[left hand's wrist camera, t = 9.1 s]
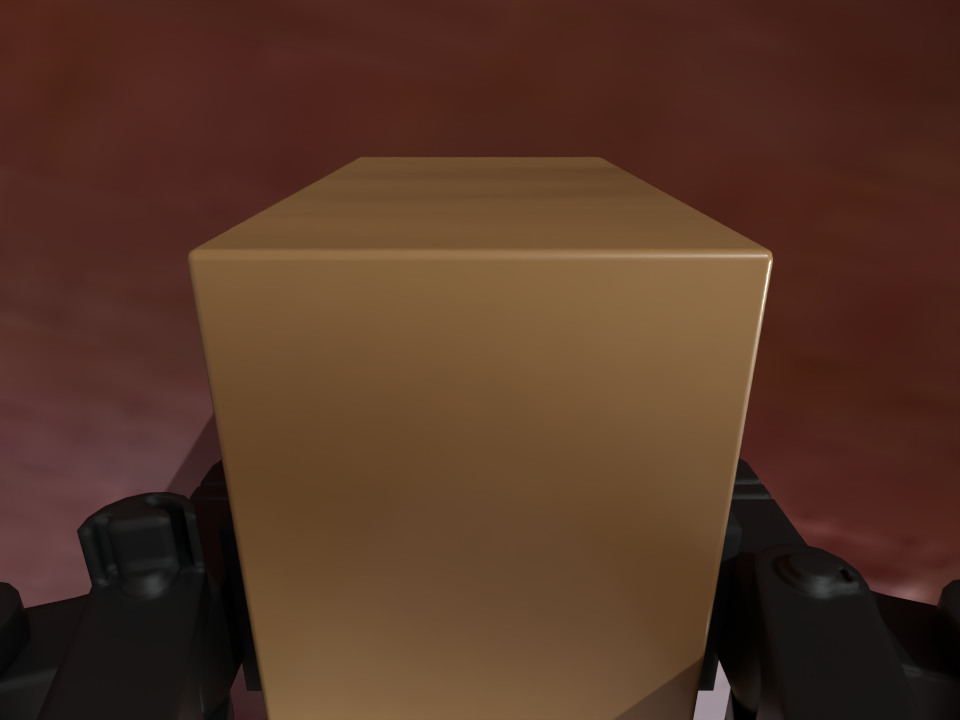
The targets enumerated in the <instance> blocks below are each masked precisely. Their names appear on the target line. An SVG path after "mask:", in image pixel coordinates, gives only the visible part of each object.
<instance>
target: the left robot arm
mask: <svg viewBox="0 0 960 720" xmlns="http://www.w3.org/2000/svg"><path fill="white" fill-rule="evenodd" d="M200 484H201V485H200V487H197V489H196V490H195V491H194V493H193V494H192V495H191V497H190V500H189V499H188V498H186V497H185V496H183V495H179V494H175V493H170V492H154V493H144V494H140V495H135V496H131V497H126V498H124V499H121V500H119V501H117V502H114V503H112V504H109V505H107V506H105V507H103V508H102V509H100V510H99V511H97V512H96V513H94V514H92V515H91V516H89V517H88V518H87V519H86V520H85V521H84V523H83V524H82V525H81V526H80V527H79V529H78V530H77V533H78V536H79V540H80V543H81V547H82V551H83V554H84V558H85V562H86V565H87V569H88V572H89V576H90V580H91V583H92V587H91V590H90V592H89V594H86V595H82V596H79V597H75V598H71V599H66V600H62V601H57V602H52V603H48V604H43V605H38V606H34V607H29V608H24V606H23V603H22V600H21V597H20V594H19V591H18V590H16V589H15V588H14V587H13V586H11V585H10V584H9V583H3V582H0V720H234V711H233V704H232V699H231V694H230V689H231V686H232V684H233V682H234V679H235V677H236V674H237V672H238V670H239V667H240V665H241V663H242V665H243V670H244V676H245V681H246V687H247V691H262V687H261V681H260V676H259V670H258V664H257V658H256V653H255V647H254V641H253V635H252V629H251V624H250V618H249V612H248V606H247V601H246V595H245V589H244V583H243V578H242V572H241V566H240V560H239V554H238V549H237V543H236V537H235V531H234V526H233V520H232V514H231V508H230V503H229V497H228V491H227V485H226V479H225V474H224V468H223V462H222V460H221V461H219V462H218V463H216V464H215V465H213V466H212V468H211V469H210V471H209V472H208V473H207V475H206V476H205V477H204V479H203V480H202V482H201V483H200ZM718 661H720V663H721V665H722V668H723V670H724V672H725V675H726V677H727V680H728V682H729V684H730V687H731V688H730V694H729V699H728V704H727V709H726V714H725V719H724V720H960V580H953V581H952V582H951V583H949V584H948V585H947V586H945V587H944V588H943V590H942V593H941V596H940V599H939V602H938V605H937V606H935V605H930V604H926V603H921V602H916V601H912V600H907V599H902V598H898V597H893V596H888V595H884V594H881V593H877V592H874V591H870V589H869V586H868V584H867V583H866V582H865V580H864V579H863V577H862V576H861V574H860V573H859V572H858V571H857V570H856V569H855V568H853V567H852V566H851V565H849V564H848V563H847V562H846V561H844V560H843V559H841V558H839V557H837V556H835V555H833V554H831V553H829V552H827V551H824V550H822V549H819V548H815V547H811V546H808V545H807V544H806V543H805V541H804V540H803V539H802V537H801V536H800V534H799V533H798V532H797V530H796V529H795V528H794V526H793V525H792V523H791V522H790V521H789V519H788V518H787V517H786V515H785V514H784V513H783V511H782V510H781V508H780V507H779V506H778V504H777V503H776V502H775V500H774V499H771V495H770V493H769V492H768V491H767V489H766V488H765V486H764V485H763V484H761V483H760V480H759V478H758V477H757V475H756V474H755V473H754V471H753V470H752V469H751V467H750V466H749V465H748V463H746V462H745V461H743V460H742V459H740V458H738V464H737V470H736V476H735V481H734V487H733V493H732V499H731V504H730V510H729V516H728V522H727V527H726V533H725V539H724V545H723V551H722V556H721V562H720V568H719V574H718V579H717V585H716V591H715V597H714V602H713V608H712V614H711V620H710V625H709V631H708V637H707V643H706V648H705V654H704V660H703V666H702V672H701V677H700V683H699V689H698V691H713V689H714V684H715V678H716V673H717V667H718Z"/></svg>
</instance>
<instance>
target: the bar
mask: <svg viewBox="0 0 960 720" xmlns="http://www.w3.org/2000/svg"><path fill="white" fill-rule="evenodd" d="M772 262H773V257H772V253H771V251H770V250H768V249H766V248H764V247H762V246H760V245H759V244H757V243H755V242H753V241H751V240H750V239H748V238H746V237H744V236H742V235H740V234H739V233H737V232H735V231H733V230H731V229H730V228H728V227H726V226H724V225H722V224H720V223H719V222H717V221H715V220H713V219H711V218H710V217H708V216H706V215H704V214H702V213H700V212H699V211H697V210H695V209H693V208H691V207H690V206H688V205H686V204H684V203H682V202H680V201H679V200H677V199H675V198H673V197H671V196H670V195H668V194H666V193H664V192H662V191H660V190H659V189H657V188H655V187H653V186H651V185H649V184H648V183H646V182H644V181H642V180H640V179H639V178H637V177H635V176H633V175H631V174H629V173H628V172H626V171H624V170H622V169H620V168H619V167H617V166H615V165H613V164H611V163H609V162H608V161H606V160H604V159H602V158H600V157H361V158H358V159H356V160H355V161H353V162H351V163H349V164H347V165H345V166H344V167H342V168H340V169H338V170H336V171H335V172H333V173H331V174H329V175H327V176H325V177H324V178H322V179H320V180H318V181H316V182H315V183H313V184H311V185H309V186H307V187H305V188H304V189H302V190H300V191H298V192H296V193H295V194H293V195H291V196H289V197H287V198H285V199H284V200H282V201H280V202H278V203H276V204H274V205H273V206H271V207H269V208H267V209H265V210H264V211H262V212H260V213H258V214H256V215H254V216H253V217H251V218H249V219H247V220H245V221H244V222H242V223H240V224H238V225H236V226H234V227H233V228H231V229H229V230H227V231H225V232H223V233H222V234H220V235H218V236H216V237H214V238H213V239H211V240H209V241H207V242H205V243H203V244H202V245H200V246H198V247H196V248H194V249H193V250H191V251H189V254H188V266H189V272H190V278H191V283H192V289H193V295H194V301H195V306H196V312H197V318H198V324H199V329H200V335H201V341H202V347H203V353H204V358H205V364H206V370H207V376H208V381H209V387H210V393H211V399H212V404H213V410H214V416H215V422H216V428H217V433H218V439H219V445H220V451H221V456H222V462H223V468H224V474H225V479H226V485H227V491H228V497H229V503H230V508H231V514H232V520H233V526H234V531H235V537H236V543H237V549H238V554H239V560H240V566H241V572H242V578H243V583H244V589H245V595H246V601H247V606H248V612H249V618H250V624H251V629H252V635H253V641H254V647H255V653H256V658H257V664H258V670H259V676H260V681H261V687H262V693H263V699H264V704H265V710H266V716H267V720H693V718H694V712H695V706H696V700H697V695H698V689H699V683H700V677H701V672H702V666H703V660H704V654H705V648H706V643H707V637H708V631H709V625H710V620H711V614H712V608H713V602H714V597H715V591H716V585H717V579H718V574H719V568H720V562H721V556H722V551H723V545H724V539H725V533H726V527H727V522H728V516H729V510H730V504H731V499H732V493H733V487H734V481H735V476H736V470H737V464H738V458H739V453H740V447H741V441H742V435H743V430H744V424H745V418H746V412H747V406H748V401H749V395H750V389H751V383H752V378H753V372H754V366H755V360H756V355H757V349H758V343H759V337H760V332H761V326H762V320H763V314H764V309H765V303H766V297H767V291H768V285H769V280H770V274H771V268H772Z"/></svg>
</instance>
